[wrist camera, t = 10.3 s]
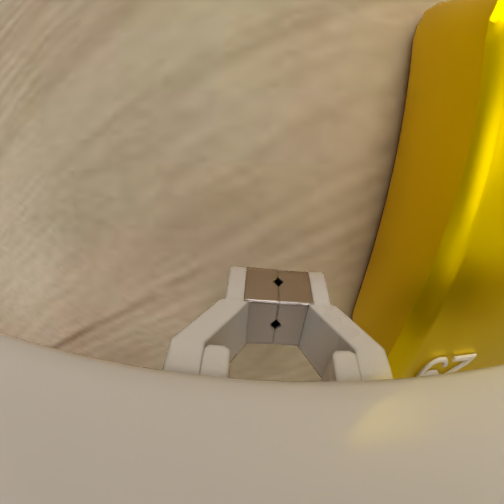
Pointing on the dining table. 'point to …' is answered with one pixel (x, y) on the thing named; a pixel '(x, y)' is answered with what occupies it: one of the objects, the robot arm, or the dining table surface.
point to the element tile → (444, 203)
